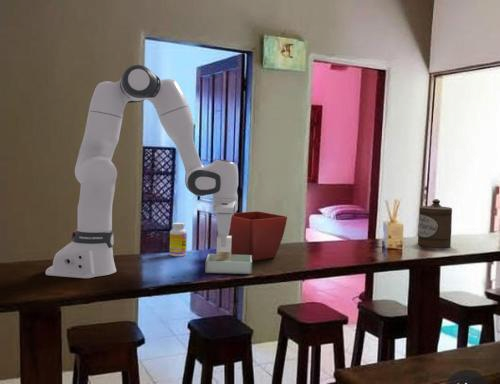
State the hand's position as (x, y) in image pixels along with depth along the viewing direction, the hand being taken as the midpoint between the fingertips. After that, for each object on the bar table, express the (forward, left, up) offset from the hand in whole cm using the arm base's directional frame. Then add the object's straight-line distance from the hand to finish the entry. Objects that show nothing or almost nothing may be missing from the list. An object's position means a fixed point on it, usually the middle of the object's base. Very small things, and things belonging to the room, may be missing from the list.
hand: (224, 244), depth 187 cm
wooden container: (+98, +63, -9) cm, 117 cm away
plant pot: (+11, +23, -9) cm, 27 cm away
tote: (+2, 0, -9) cm, 9 cm away
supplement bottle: (-19, +22, -9) cm, 30 cm away
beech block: (0, 0, -8) cm, 8 cm away
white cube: (0, 0, -2) cm, 2 cm away
